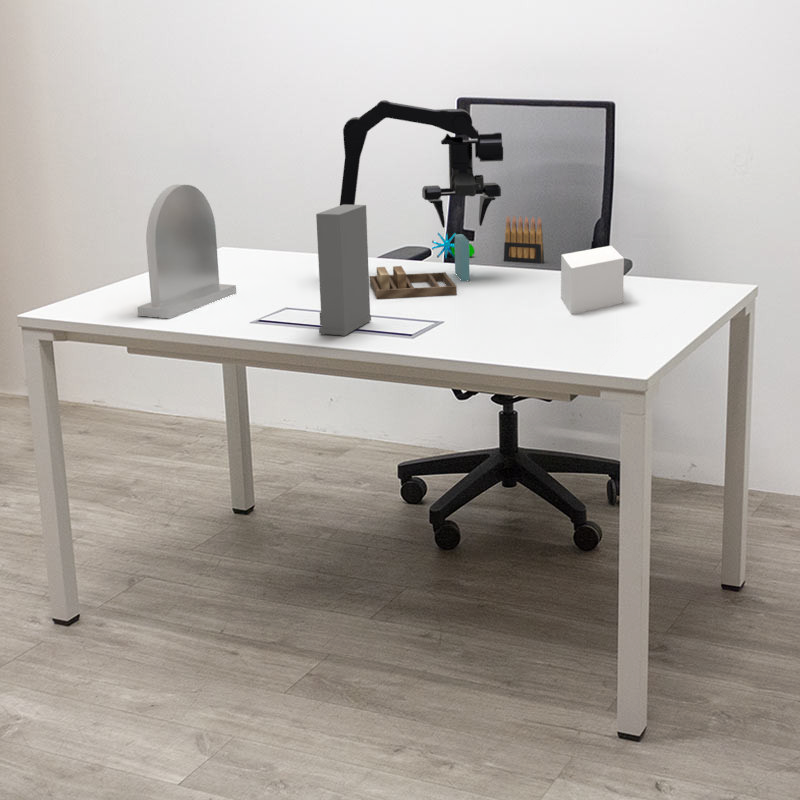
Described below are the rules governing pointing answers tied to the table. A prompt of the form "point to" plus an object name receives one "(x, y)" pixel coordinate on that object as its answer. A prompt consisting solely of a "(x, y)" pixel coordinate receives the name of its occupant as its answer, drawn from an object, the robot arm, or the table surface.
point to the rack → (416, 292)
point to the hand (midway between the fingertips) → (462, 226)
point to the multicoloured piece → (447, 245)
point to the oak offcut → (399, 277)
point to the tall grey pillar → (343, 269)
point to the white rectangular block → (592, 279)
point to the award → (182, 254)
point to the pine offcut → (382, 278)
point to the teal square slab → (462, 257)
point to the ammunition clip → (523, 242)
